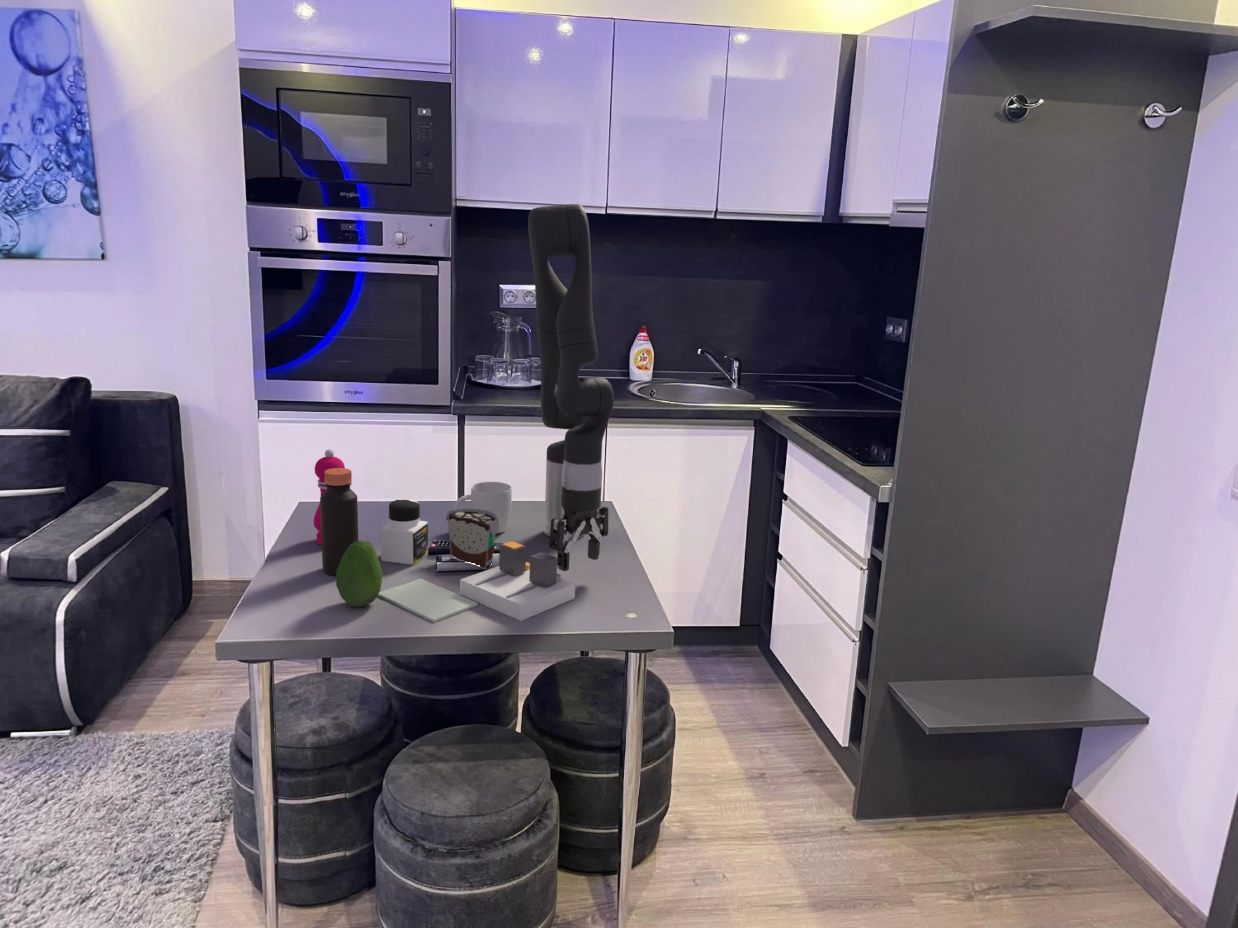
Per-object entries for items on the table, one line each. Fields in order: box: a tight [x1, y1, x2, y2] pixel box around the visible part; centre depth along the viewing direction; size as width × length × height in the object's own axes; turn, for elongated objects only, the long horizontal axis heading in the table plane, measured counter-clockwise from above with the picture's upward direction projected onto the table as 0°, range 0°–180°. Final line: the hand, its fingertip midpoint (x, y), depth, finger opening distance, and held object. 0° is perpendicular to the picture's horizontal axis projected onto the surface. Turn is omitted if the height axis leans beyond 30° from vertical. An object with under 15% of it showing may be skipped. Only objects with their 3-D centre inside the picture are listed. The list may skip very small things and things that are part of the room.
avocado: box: [335, 539, 383, 608], centre depth 158 cm, size 8×8×12 cm
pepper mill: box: [313, 449, 346, 546], centre depth 187 cm, size 7×7×20 cm
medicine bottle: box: [380, 498, 429, 566], centre depth 181 cm, size 7×7×12 cm
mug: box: [453, 481, 513, 535], centre depth 200 cm, size 13×9×10 cm
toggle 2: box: [529, 551, 558, 588], centre depth 165 cm, size 3×4×5 cm
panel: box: [459, 561, 576, 622], centre depth 166 cm, size 14×16×4 cm
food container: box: [445, 507, 499, 570], centre depth 182 cm, size 12×6×10 cm, turn 58°
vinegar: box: [319, 467, 359, 577], centre depth 172 cm, size 7×7×20 cm
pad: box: [377, 578, 479, 623], centre depth 163 cm, size 10×16×1 cm, turn 51°
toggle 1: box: [498, 540, 527, 575], centre depth 169 cm, size 3×4×5 cm
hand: (578, 564), depth 172 cm, fingers open, 8 cm apart
